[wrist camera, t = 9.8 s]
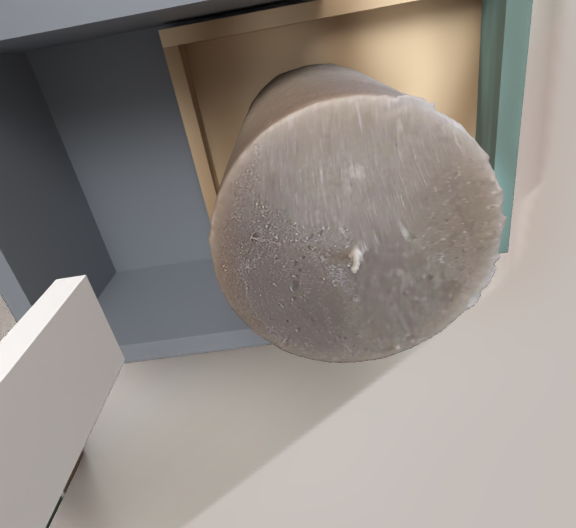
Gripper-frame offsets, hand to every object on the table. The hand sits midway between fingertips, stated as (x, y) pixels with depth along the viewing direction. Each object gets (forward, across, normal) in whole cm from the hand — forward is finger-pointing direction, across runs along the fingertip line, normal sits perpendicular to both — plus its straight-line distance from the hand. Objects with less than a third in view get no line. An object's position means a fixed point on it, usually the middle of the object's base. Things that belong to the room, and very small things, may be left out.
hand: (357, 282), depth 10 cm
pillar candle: (+17, 0, -1) cm, 17 cm away
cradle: (+19, -8, 0) cm, 21 cm away
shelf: (+18, +2, 0) cm, 19 cm away
